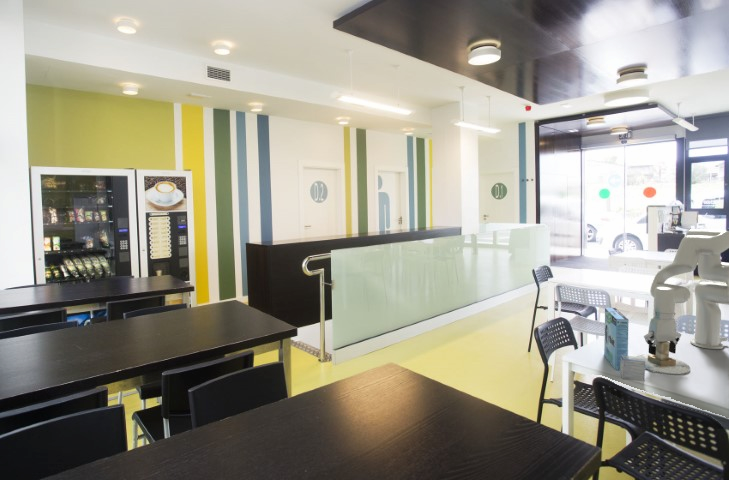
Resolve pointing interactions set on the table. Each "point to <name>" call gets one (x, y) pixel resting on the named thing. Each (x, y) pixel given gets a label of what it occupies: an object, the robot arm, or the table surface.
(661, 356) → the tan block
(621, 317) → the gum box
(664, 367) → the rosette plate
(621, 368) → the medicine box
